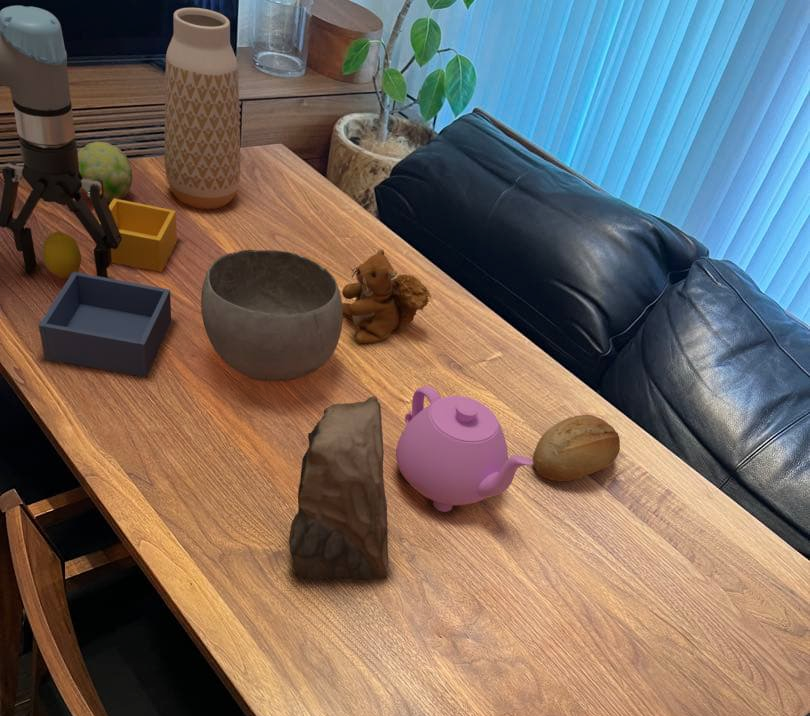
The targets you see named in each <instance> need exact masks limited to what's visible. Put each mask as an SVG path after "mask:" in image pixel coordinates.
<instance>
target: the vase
mask: <svg viewBox="0 0 810 716" xmlns="http://www.w3.org/2000/svg"><path fill="white" fill-rule="evenodd" d="M239 86H240V85H239V67H238V60H237V57H236V55H235V52H234V49H233V47H232V44H231V21H230V19H229V18H228V17H227V16H225V15H223V14H222V13H220V12H218V11H214V10H211V9H207V8H201V7H182V8H179V9H176V10H175V11H174V13H173V34H172V37H171V40H170V42H169V44H168V47H167V50H166V54H165V79H164V169H165V177H166V180H167V184H168V186H169V188H170V190H171V191H172V193H173V195H174V196H175V197H176V198H177V199H178V201H180V202H181V203H183V204H185V205H187V206H189V207H192V208H196V209H200V210H215V209H220V208H222V207H225V206H226V205H228V204H229V203H230V202H231V201H232V200H233V198H234V197H235V195H236V193H237V192H238V188H239V184H240V179H241V132H240V131H241V128H240V127H241V126H240V125H241V124H240V123H241V122H240V89H239V88H240V87H239Z"/></svg>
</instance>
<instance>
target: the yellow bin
mask: <svg viewBox="0 0 810 716" xmlns="http://www.w3.org/2000/svg"><path fill="white" fill-rule="evenodd" d="M108 205H109V208H110V210H111V213H112V215H113V217H114V220H115V222H116V225H117V227H118V229H119V232H120V234H121V237H122V241H121V242H120V244H119V246H118V247H117V249H113V248H111V258H112V262H111V264H117V265H123V266H127V267H128V266H129V267H134V268H137V269H144V270H148V271H154V272H159V273H162V272H163V270H164V268H165V267H166V264H167V263H168V260H169V258H170V256H171V254H172V253H173V250H174V248H175V246H176V245H177V242H178V237H177V236H178V233H177V211H176V210H174V209H170V208H166V207H165V208H164V207H160V206H154V205H150V204H145V203H140V202H134V201H129V200H126V199H125V200H124V199H115V198H114V199H113V200H112V202H109V204H108ZM98 221H99V220H98ZM99 223H100V221H99ZM96 246H97V245H96V244H95V247H96Z"/></svg>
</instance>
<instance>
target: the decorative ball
mask: <svg viewBox="0 0 810 716" xmlns="http://www.w3.org/2000/svg"><path fill="white" fill-rule="evenodd" d="M77 153H78V161H79V171H80V174H81V175H82V177H83V179H86V180H91V181H95V180H96V179H100V180H102V182H103V189H104V196H105V198H106V201H107V203H111V202H112V200H113V199H114V198H115V199H120V200H122V198H124V197H126V195H127V194H128V193H129V192H130V191H131V187H132V183H133V182H132V181H133V172H132V167H131V164H130V161H129V159H128V157H127V155H126V154H125V153H124V152H123V151H122V150H121V149H120V148H119V147H117V146H115V145H112V144H111V143H109V142H106V141H103V142H102V141H94V142H90V143H87V144H86V145H85V146H84V147H82V148H80V149H79V151H77ZM80 190H82V192H83V193H85V195H87V193H86V190H85V189H83V188H81V189H80Z"/></svg>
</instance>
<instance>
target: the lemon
mask: <svg viewBox="0 0 810 716" xmlns="http://www.w3.org/2000/svg"><path fill="white" fill-rule="evenodd" d="M42 257H43V260H44V263H45V265H46V267H47V269H48V270H49V271H50V273H52V274H54V275H55V276H57V277H59V278H62V279H69V277H70V276H71V274H72V273H73V272H79V271H80V268H81V265H82V255H81V250H80V247H79V245H78V243H77V241H76V240H75V238H73V236H71V235H70V234H68V233H66V232H63V231H59V230H57V231H55V232H52V233H49V235H48V236H46V238H45V240H44V241H43V245H42Z"/></svg>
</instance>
